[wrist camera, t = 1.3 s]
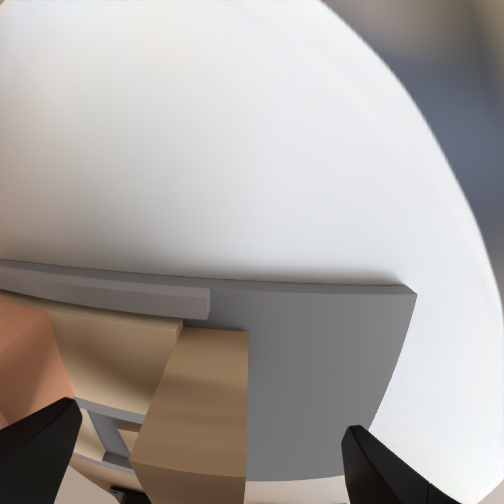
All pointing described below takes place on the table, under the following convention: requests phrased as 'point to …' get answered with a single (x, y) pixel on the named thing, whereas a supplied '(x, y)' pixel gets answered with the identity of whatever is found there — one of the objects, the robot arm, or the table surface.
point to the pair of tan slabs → (91, 442)
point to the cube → (28, 363)
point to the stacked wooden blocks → (162, 394)
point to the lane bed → (258, 354)
